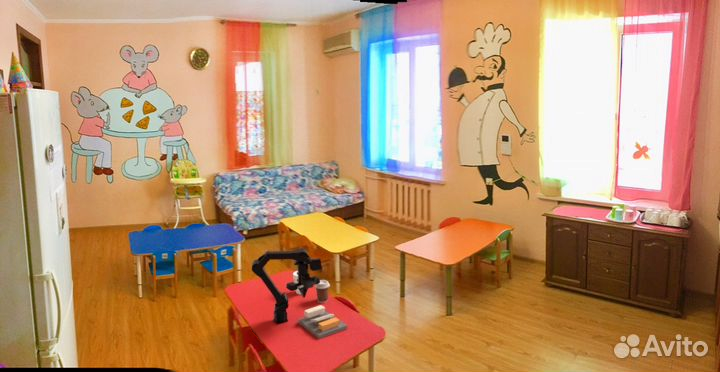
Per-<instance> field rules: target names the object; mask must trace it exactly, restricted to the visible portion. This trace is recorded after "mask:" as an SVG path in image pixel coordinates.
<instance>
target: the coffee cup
mask: <svg viewBox="0 0 720 372" xmlns="http://www.w3.org/2000/svg"><path fill="white" fill-rule="evenodd" d="M314 287H315V290H316V297H317V298H316V299H317V302H318V303H320V304H321V303H322V304H323V303H326V302H329V289H330V287H331V284H330V283H329V281H328V280H325V279H320V283H319V284H315V285H314Z"/></svg>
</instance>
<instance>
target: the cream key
mask: <svg viewBox="0 0 720 372" xmlns="http://www.w3.org/2000/svg"><path fill="white" fill-rule="evenodd" d="M325 311H326V307H325V306H324V305H317V306H314V307H311V308H308V309H305V310H304V316H305V317H307V318H310V317H313V316H316V315H319V314H322V313H325Z"/></svg>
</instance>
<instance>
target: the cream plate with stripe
mask: <svg viewBox="0 0 720 372" xmlns="http://www.w3.org/2000/svg"><path fill="white" fill-rule="evenodd" d="M332 316H334V317H335V314H334V313H330V314H326V315H323V316H320V317H317V318H314V319H311V321H314V322H317V321H320V320H323V319H326V318H329V317H332Z"/></svg>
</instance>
